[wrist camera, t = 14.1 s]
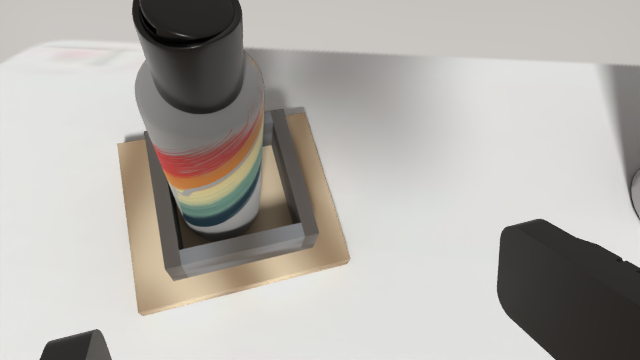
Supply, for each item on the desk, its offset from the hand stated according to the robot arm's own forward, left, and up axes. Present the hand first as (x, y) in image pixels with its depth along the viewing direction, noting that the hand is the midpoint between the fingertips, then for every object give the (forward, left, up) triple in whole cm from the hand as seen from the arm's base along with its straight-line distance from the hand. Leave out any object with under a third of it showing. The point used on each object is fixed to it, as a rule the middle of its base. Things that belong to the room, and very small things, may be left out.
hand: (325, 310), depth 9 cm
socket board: (0, -12, -24) cm, 27 cm away
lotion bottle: (+1, -12, -23) cm, 26 cm away
